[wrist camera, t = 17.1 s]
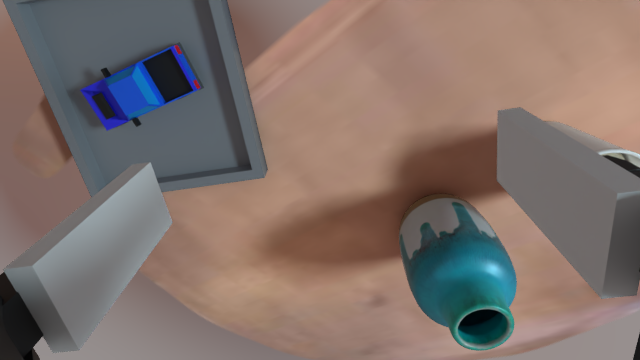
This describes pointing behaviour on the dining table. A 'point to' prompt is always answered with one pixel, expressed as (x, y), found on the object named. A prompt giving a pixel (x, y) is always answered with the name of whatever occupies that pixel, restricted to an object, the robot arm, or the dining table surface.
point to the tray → (162, 123)
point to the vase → (458, 270)
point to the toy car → (142, 87)
